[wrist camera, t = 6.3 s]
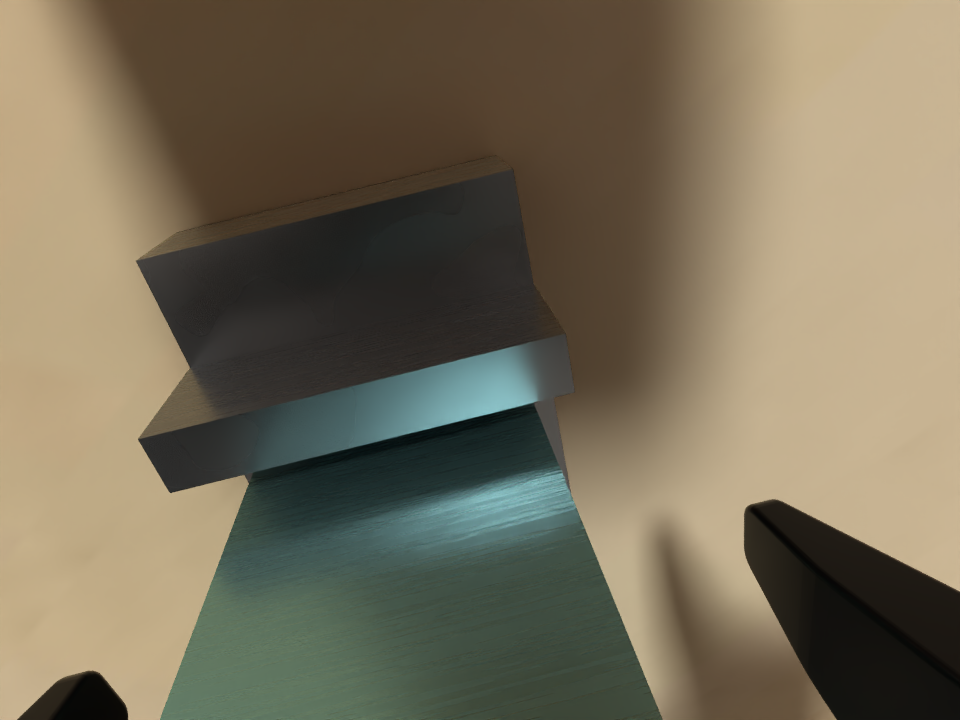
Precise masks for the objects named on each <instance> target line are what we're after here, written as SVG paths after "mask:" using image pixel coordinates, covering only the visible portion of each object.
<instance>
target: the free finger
mask: <svg viewBox="0 0 960 720" xmlns="http://www.w3.org/2000/svg"><path fill="white" fill-rule="evenodd" d="M160 720H662V717H661V715H660V712H659V710H658V707H657V705H656V703H655V700H654V698H653V695H652V693H651V690H650V688H649V685H648V683H647V680H646V678H645V676H644V673H643V671H642V668H641V666H640V663H639V661H638V658H637V656H636V653H635V651H634V648H633V646H632V644H631V641H630V639H629V636H628V634H627V631H626V629H625V626H624V624H623V621H622V619H621V616H620V614H619V612H618V609H617V607H616V604H615V602H614V599H613V597H612V594H611V592H610V589H609V587H608V585H607V582H606V580H605V577H604V575H603V572H602V570H601V567H600V565H599V562H598V560H597V557H596V555H595V553H594V550H593V548H592V545H591V543H590V540H589V538H588V535H587V533H586V530H585V528H584V525H583V523H582V521H581V518H580V516H579V513H578V511H577V508H576V506H575V503H574V501H573V498H572V496H571V493H570V491H569V489H568V486H567V484H566V481H565V479H564V476H563V474H562V471H561V469H560V466H559V464H558V462H557V459H556V457H555V454H554V452H553V449H552V447H551V444H550V442H549V439H548V437H547V434H546V432H545V430H544V427H543V425H542V422H541V420H540V417H539V415H538V412H537V410H536V407H535V405H534V403H530V404H526V405H522V406H518V407H514V408H510V409H506V410H502V411H498V412H494V413H490V414H486V415H482V416H478V417H474V418H470V419H466V420H462V421H458V422H454V423H450V424H446V425H442V426H438V427H434V428H430V429H426V430H422V431H418V432H413V433H409V434H405V435H401V436H397V437H393V438H389V439H385V440H381V441H377V442H373V443H369V444H365V445H361V446H357V447H353V448H349V449H345V450H341V451H337V452H333V453H329V454H325V455H321V456H317V457H313V458H309V459H305V460H301V461H297V462H293V463H289V464H285V465H281V466H277V467H273V468H269V469H265V470H261V471H257V472H253V474H252V477H251V479H250V482H249V485H248V487H247V490H246V493H245V495H244V498H243V501H242V503H241V506H240V509H239V511H238V514H237V516H236V519H235V522H234V524H233V527H232V530H231V532H230V535H229V538H228V540H227V543H226V546H225V548H224V551H223V554H222V556H221V559H220V562H219V564H218V567H217V570H216V572H215V575H214V577H213V580H212V583H211V585H210V588H209V591H208V593H207V596H206V599H205V601H204V604H203V607H202V609H201V612H200V615H199V617H198V620H197V623H196V625H195V628H194V630H193V633H192V636H191V638H190V641H189V644H188V646H187V649H186V652H185V654H184V657H183V660H182V662H181V665H180V668H179V670H178V673H177V676H176V678H175V681H174V683H173V686H172V689H171V691H170V694H169V697H168V699H167V702H166V705H165V707H164V710H163V713H162V715H161V718H160Z"/></svg>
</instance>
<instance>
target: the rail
mask: <svg viewBox="0 0 960 720" xmlns="http://www.w3.org/2000/svg"><path fill="white" fill-rule="evenodd" d="M136 262H137V264H138V266H139V268H140V270H141V272H142V274H143V276H144V278H145V280H146V282H147V284H148V286H149V288H150V290H151V292H152V293H153V295H154V297H155V299H156V301H157V303H158V305H159V307H160V309H161V311H162V313H163V315H164V317H165V319H166V321H167V323H168V325H169V327H170V329H171V331H172V333H173V335H174V337H175V339H176V341H177V343H178V345H179V347H180V349H181V351H182V353H183V355H184V357H185V358H186V360H187V362H188V364H189V366H190V369H189V370H188V372H187V373H186V374H185V376H184V377H183V378H182V380H181V381H180V382H179V384H178V385H177V387H176V388H175V389H174V391H173V392H172V393H171V395H170V396H169V398H168V399H167V400H166V402H165V403H164V404H163V406H162V407H161V408H160V410H159V411H158V413H157V414H156V415H155V417H154V418H153V419H152V421H151V422H150V424H149V425H148V426H147V428H146V429H145V430H144V432H143V433H142V434H141V436H140V437H139V439H138V440H139V442H140V444H141V445H142V447H143V449H144V450H145V452H146V454H147V455H148V457H149V459H150V460H151V462H152V464H153V465H154V467H155V469H156V470H157V472H158V474H159V475H160V477H161V479H162V481H163V482H164V484H165V486H166V487H167V489H168V491H169V492H170V493H172V492H176V491H180V490H184V489H188V488H192V487H196V486H200V485H204V484H208V483H212V482H217V481H221V480H225V479H229V478H233V477H237V476H241V475H245V477H246V479H247V481H248V483H249V482H250V479H251V477H252V474H253V472H257V471H261V470H265V469H269V468H273V467H277V466H281V465H285V464H289V463H293V462H297V461H301V460H305V459H309V458H313V457H317V456H321V455H325V454H329V453H333V452H337V451H341V450H345V449H349V448H353V447H357V446H361V445H365V444H369V443H373V442H377V441H381V440H385V439H389V438H393V437H397V436H401V435H405V434H409V433H413V432H418V431H422V430H426V429H430V428H434V427H438V426H442V425H446V424H450V423H454V422H458V421H462V420H466V419H470V418H474V417H478V416H482V415H486V414H490V413H494V412H498V411H502V410H506V409H510V408H514V407H518V406H522V405H526V404H530V403H534V405H535V407H536V410H537V412H538V415H539V417H540V420H541V422H542V425H543V427H544V430H545V432H546V434H547V437H548V439H549V442H550V444H551V447H552V449H553V452H554V454H555V457H556V459H557V462H558V464H559V466H560V469H561V471H562V474H563V476H564V479H565V481H566V484H567V486H568V489H569V491H570V486H569V480H568V475H567V469H566V463H565V458H564V452H563V447H562V441H561V435H560V430H559V424H558V418H557V413H556V407H555V402H554V397H558V396H562V395H566V394H570V393H574V392H575V390H574V384H573V377H572V371H571V364H570V358H569V352H568V345H567V339H566V333H565V332H564V330H563V329H562V327H561V326H560V324H559V322H558V321H557V319H556V318H555V316H554V315H553V313H552V312H551V310H550V308H549V307H548V305H547V304H546V302H545V301H544V299H543V298H542V296H541V294H540V293H539V291H538V290H537V288H536V287H535V285H534V284H533V278H532V273H531V267H530V261H529V256H528V250H527V244H526V239H525V233H524V228H523V222H522V216H521V211H520V205H519V200H518V194H517V188H516V183H515V177H514V171H513V169H512V168H511V167H510V166H509V165H507V164H506V163H505V162H504V161H502V160H501V159H500V158H499V157H497V156H492V157H487V158H483V159H479V160H475V161H471V162H467V163H463V164H459V165H454V166H450V167H446V168H442V169H438V170H434V171H430V172H426V173H421V174H417V175H413V176H409V177H405V178H401V179H397V180H392V181H388V182H384V183H380V184H376V185H372V186H368V187H364V188H359V189H355V190H351V191H347V192H343V193H339V194H335V195H330V196H326V197H322V198H318V199H314V200H310V201H306V202H302V203H297V204H293V205H289V206H285V207H281V208H277V209H273V210H269V211H264V212H260V213H256V214H252V215H248V216H244V217H240V218H235V219H231V220H227V221H223V222H219V223H215V224H211V225H207V226H202V227H198V228H194V229H190V230H186V231H182V232H178V233H176V234H174V235H173V236H171V237H170V238H168V239H167V240H165V241H164V242H162V243H161V244H159V245H158V246H157V247H155V248H154V249H152V250H151V251H149V252H148V253H146V254H145V255H143V256H142V257H141V258H139V259H138V260H136ZM570 493H571V491H570Z"/></svg>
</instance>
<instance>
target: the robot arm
mask: <svg viewBox="0 0 960 720" xmlns="http://www.w3.org/2000/svg"><path fill="white" fill-rule="evenodd" d="M744 551H745V556H746V559H747V562H748V564H749V566H750V568H751V570H752V572H753V574H754V576H755V578H756V580H757V581H758V583H759V585H760V587H761V589H762V591H763V593H764V595H765V597H766V598H767V600H768V602H769V604H770V606H771V608H772V610H773V612H774V613H775V615H776V617H777V619H778V621H779V623H780V625H781V627H782V629H783V630H784V632H785V634H786V636H787V638H788V640H789V642H790V644H791V646H792V647H793V649H794V651H795V653H796V655H797V657H798V659H799V660H800V662H801V664H802V666H803V668H804V669H805V671H806V673H807V675H808V676H809V678H810V679H811V681H812V683H813V684H814V686H815V687H816V689H817V690H818V692H819V694H820V695H821V697H822V698H823V700H824V701H825V703H826V704H827V706H828V707H829V709H830V710H831V712H832V713H833V715H834V716H835V718H836V719H837V720H960V591H958V590H956V589H954V588H952V587H950V586H948V585H946V584H944V583H942V582H940V581H938V580H936V579H934V578H932V577H930V576H928V575H926V574H924V573H922V572H920V571H918V570H916V569H914V568H912V567H910V566H908V565H906V564H904V563H902V562H901V561H899V560H897V559H895V558H893V557H891V556H889V555H887V554H885V553H883V552H881V551H879V550H877V549H875V548H873V547H871V546H869V545H867V544H865V543H863V542H861V541H859V540H857V539H855V538H853V537H851V536H849V535H847V534H845V533H843V532H841V531H839V530H837V529H835V528H833V527H831V526H829V525H827V524H825V523H823V522H822V521H820V520H818V519H816V518H814V517H812V516H810V515H808V514H806V513H804V512H802V511H800V510H798V509H796V508H794V507H792V506H790V505H788V504H786V503H784V502H782V501H779V500H775V499H772V500H767V501H763V502H759V503H755V504H751V505H749V506H747V507H746V509H745V513H744ZM17 720H128V711H127V708H126V705H125V703H124V702H123V701H122V699H121V698H120V697H119V696H118V694H117V693H116V692H115V691H114V690H113V688H112V687H111V686H110V685H109V683H108V682H107V681H106V680H105V679H104V677H103V676H102V675H101V674H100V673H98V672H96V671H86V672H82V673H78V674H74V675H70V676H67V677H64V678H62V679H60V680H59V681H57V682H56V683H55V684H54V685H53V686H52V687H51V688H49V689H48V690H47V691H46V692H45V693H44V694H43V695H42V696H41V697H40V698H39V699H38V700H37V701H36V702H35V703H34V704H33V705H32V706H31V707H30V708H29V709H28V710H27V711H26V712H25V713H24V714H23V715H22V716H20V717H19V718H18V719H17Z"/></svg>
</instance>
